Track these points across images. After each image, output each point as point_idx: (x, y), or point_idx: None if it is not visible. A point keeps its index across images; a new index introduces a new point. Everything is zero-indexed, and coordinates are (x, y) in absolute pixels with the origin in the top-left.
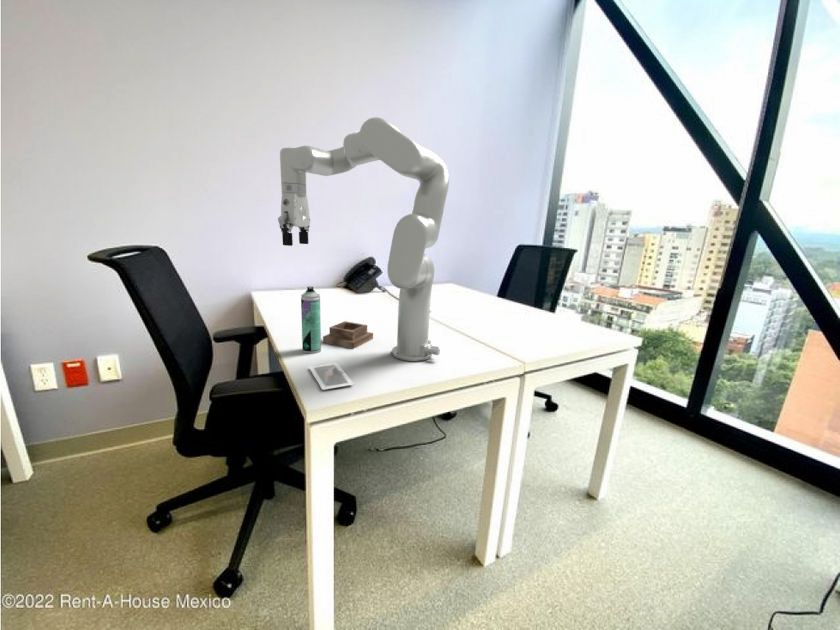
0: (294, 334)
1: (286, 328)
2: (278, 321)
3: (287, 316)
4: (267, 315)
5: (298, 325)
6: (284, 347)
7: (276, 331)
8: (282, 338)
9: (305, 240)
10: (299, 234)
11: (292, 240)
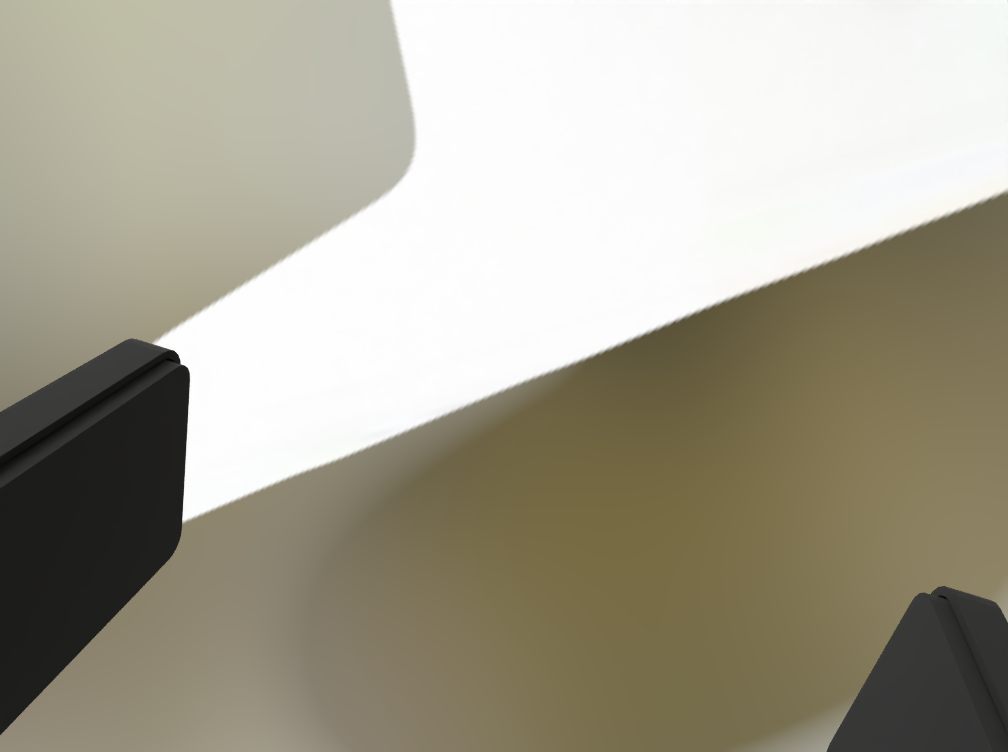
0: (673, 192)
1: (537, 287)
2: (387, 382)
3: (258, 359)
4: (275, 482)
5: (451, 225)
6: (988, 174)
7: (615, 331)
8: (774, 248)
9: (134, 438)
10: (18, 699)
11: (995, 680)
